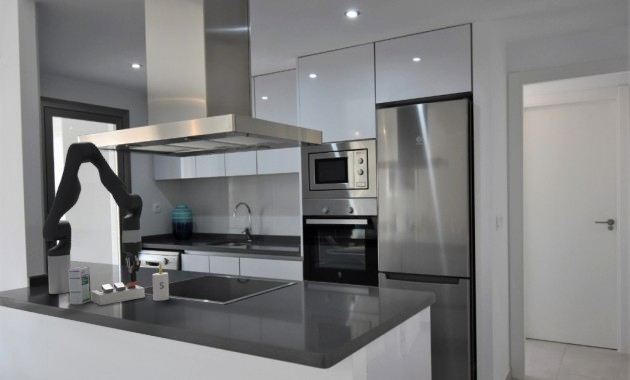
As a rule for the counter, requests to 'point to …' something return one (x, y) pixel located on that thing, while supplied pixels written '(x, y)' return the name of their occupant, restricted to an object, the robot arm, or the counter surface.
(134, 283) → the rocker
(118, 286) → the rocker
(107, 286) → the rocker
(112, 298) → the power strip
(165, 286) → the candle
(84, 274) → the syrup box
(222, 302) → the counter surface
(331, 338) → the counter surface
